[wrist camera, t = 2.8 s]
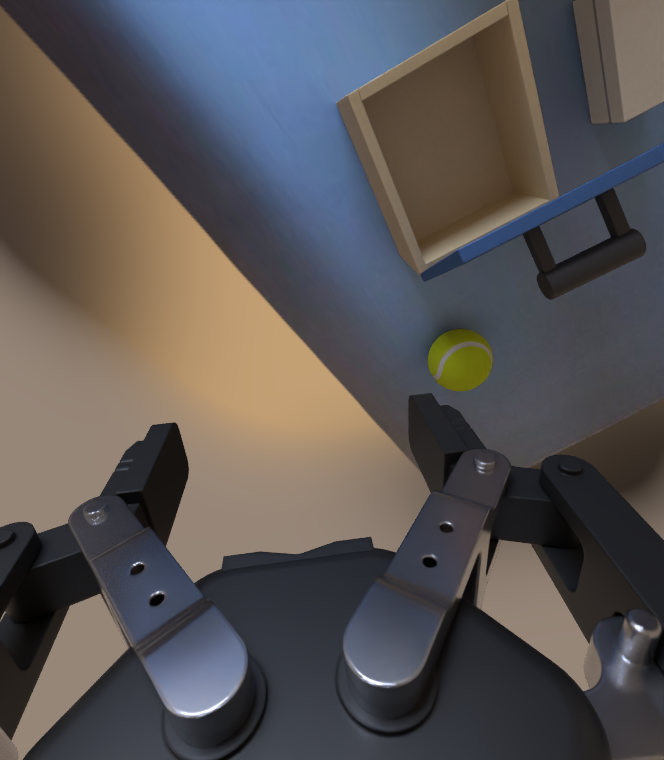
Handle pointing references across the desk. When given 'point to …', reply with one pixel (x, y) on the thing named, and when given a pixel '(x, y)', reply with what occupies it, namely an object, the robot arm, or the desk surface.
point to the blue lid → (585, 264)
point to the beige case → (621, 56)
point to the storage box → (454, 138)
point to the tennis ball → (460, 360)
